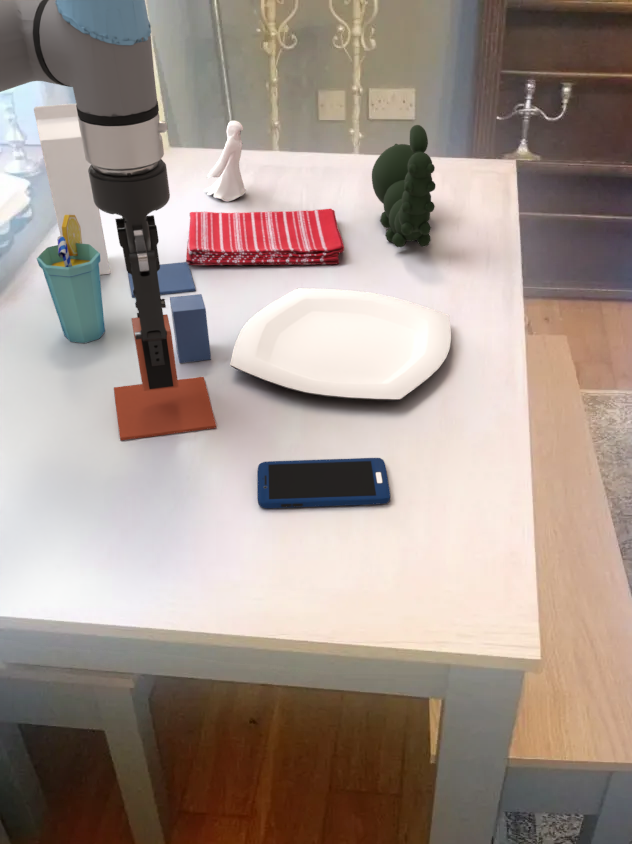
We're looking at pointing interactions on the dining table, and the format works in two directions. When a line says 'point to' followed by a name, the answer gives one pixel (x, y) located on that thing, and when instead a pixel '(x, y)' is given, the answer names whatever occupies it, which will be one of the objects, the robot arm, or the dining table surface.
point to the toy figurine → (405, 189)
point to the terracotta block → (141, 354)
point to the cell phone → (322, 483)
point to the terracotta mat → (163, 409)
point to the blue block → (190, 328)
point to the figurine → (228, 167)
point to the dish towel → (264, 238)
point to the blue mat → (172, 279)
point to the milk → (70, 174)
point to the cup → (74, 283)
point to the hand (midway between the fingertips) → (159, 375)
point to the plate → (343, 344)
